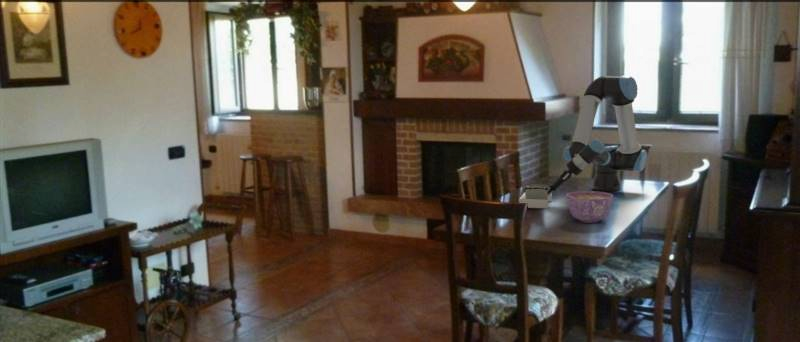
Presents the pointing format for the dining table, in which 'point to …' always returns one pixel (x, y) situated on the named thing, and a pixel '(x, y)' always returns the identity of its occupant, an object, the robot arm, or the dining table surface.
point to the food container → (536, 191)
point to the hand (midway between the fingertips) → (542, 197)
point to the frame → (536, 201)
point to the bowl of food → (589, 205)
